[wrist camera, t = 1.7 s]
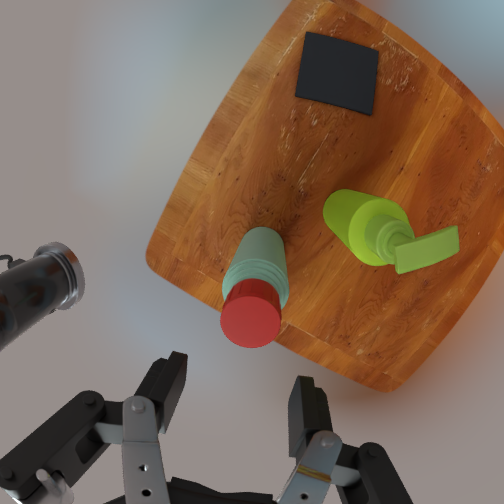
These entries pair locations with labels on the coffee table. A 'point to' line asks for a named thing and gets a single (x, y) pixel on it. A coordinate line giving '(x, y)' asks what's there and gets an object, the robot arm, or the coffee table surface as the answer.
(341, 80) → the mat
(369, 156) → the coffee table surface
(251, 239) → the bottle
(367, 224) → the soap dispenser
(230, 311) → the cap
